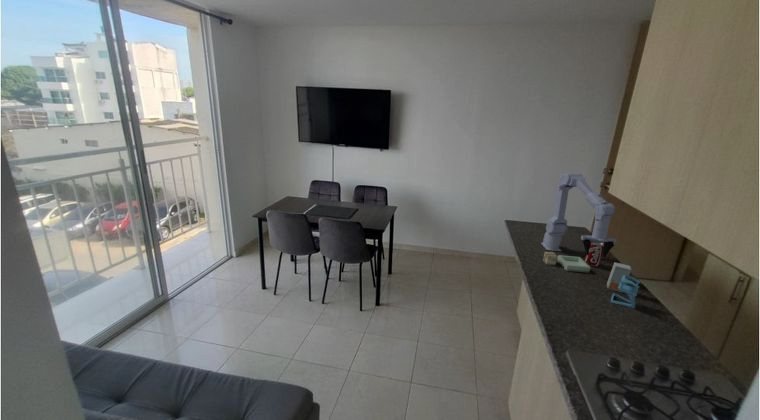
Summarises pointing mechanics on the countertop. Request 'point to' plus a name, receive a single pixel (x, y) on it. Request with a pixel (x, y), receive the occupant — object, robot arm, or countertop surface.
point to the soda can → (595, 254)
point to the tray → (573, 264)
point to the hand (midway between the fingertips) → (595, 255)
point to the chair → (627, 291)
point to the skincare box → (617, 275)
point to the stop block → (550, 258)
